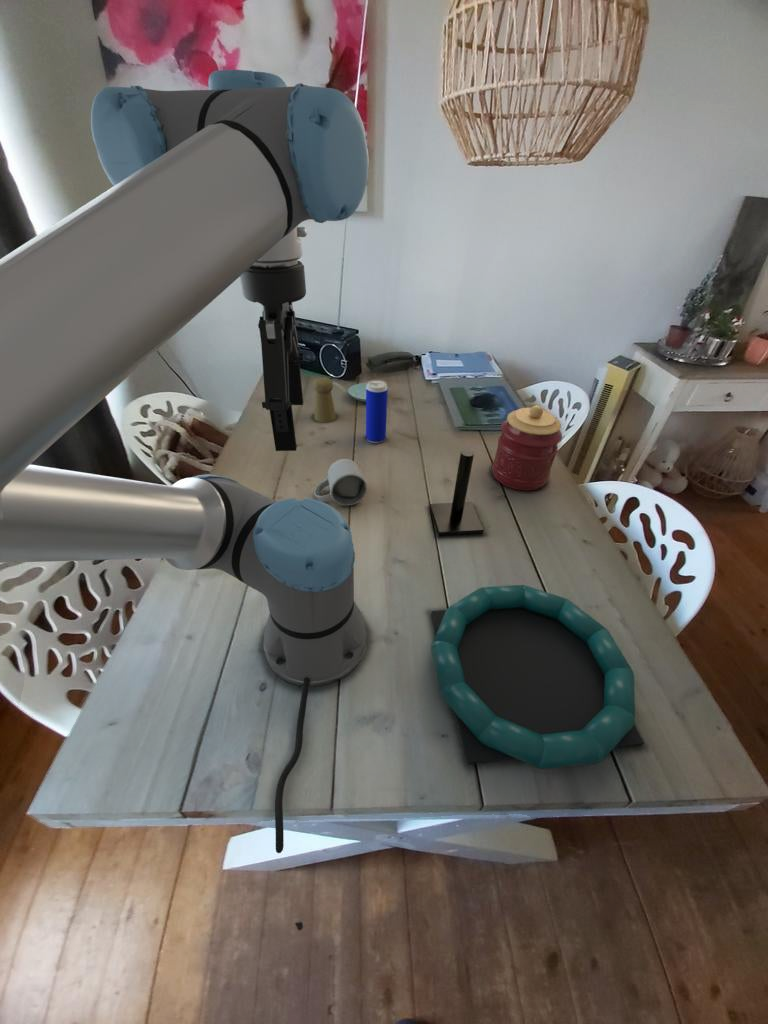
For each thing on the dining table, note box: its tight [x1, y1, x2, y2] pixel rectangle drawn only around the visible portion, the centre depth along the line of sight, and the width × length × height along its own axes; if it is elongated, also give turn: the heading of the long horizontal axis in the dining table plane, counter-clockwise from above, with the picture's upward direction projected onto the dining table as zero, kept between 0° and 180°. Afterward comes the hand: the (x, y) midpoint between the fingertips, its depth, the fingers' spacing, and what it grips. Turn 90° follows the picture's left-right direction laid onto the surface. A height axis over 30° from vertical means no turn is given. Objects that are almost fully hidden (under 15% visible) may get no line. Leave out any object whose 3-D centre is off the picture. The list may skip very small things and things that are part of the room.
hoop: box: [431, 584, 636, 770], centre depth 62 cm, size 27×27×4 cm
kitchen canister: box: [491, 404, 563, 491], centre depth 98 cm, size 13×13×18 cm
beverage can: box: [365, 379, 389, 444], centre depth 110 cm, size 5×5×15 cm
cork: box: [312, 376, 337, 423], centre depth 120 cm, size 6×6×11 cm
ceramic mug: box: [313, 458, 368, 507], centre depth 93 cm, size 11×8×8 cm
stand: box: [429, 449, 485, 538], centre depth 85 cm, size 9×9×16 cm
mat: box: [431, 607, 645, 765], centre depth 64 cm, size 23×23×1 cm
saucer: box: [347, 382, 368, 403], centre depth 133 cm, size 12×12×2 cm
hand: (290, 425), depth 64 cm, fingers open, 13 cm apart
